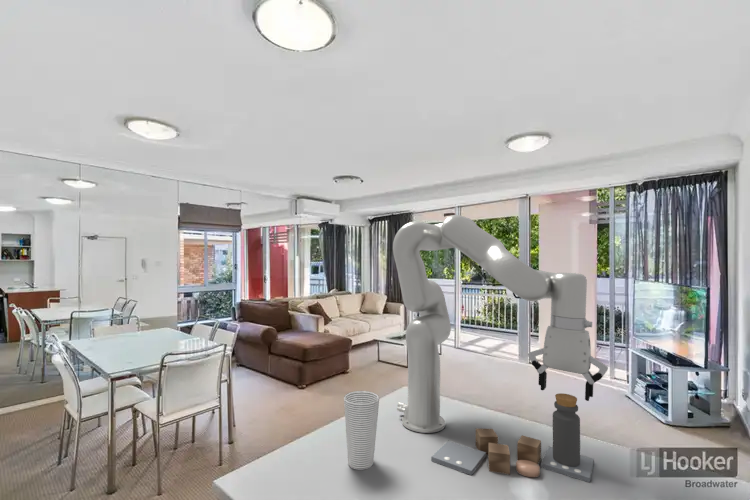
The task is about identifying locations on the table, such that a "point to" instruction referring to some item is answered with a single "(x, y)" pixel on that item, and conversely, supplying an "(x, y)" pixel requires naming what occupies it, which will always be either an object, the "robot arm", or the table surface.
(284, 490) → the table surface
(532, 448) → the block
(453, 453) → the pad two
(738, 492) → the table surface
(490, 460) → the block
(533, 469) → the peach glossy rounded part
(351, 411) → the cup
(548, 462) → the pad three
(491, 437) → the block
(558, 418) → the bottle
